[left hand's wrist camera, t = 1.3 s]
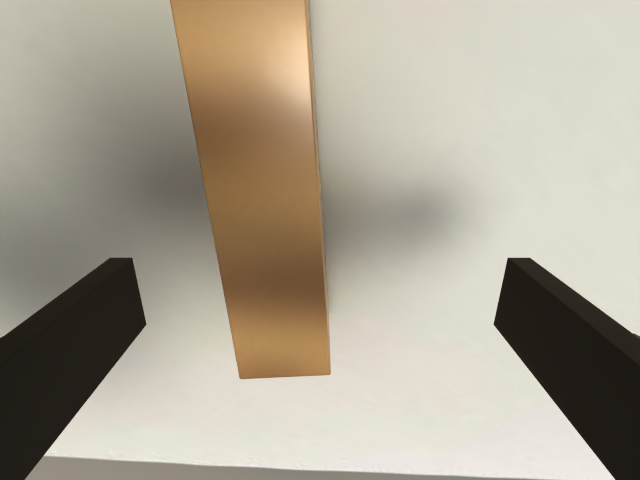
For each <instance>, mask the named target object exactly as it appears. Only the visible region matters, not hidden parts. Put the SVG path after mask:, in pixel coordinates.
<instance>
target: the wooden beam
mask: <svg viewBox="0 0 640 480" xmlns="http://www.w3.org/2000/svg"><path fill="white" fill-rule="evenodd" d="M170 3H171V9H172V14H173V19H174V25H175V30H176V36H177V41H178V46H179V52H180V57H181V63H182V68H183V74H184V79H185V84H186V90H187V95H188V101H189V106H190V112H191V117H192V122H193V128H194V133H195V139H196V144H197V149H198V155H199V160H200V166H201V171H202V177H203V182H204V187H205V193H206V198H207V204H208V209H209V215H210V220H211V225H212V231H213V236H214V242H215V247H216V253H217V258H218V263H219V269H220V274H221V280H222V285H223V290H224V296H225V301H226V307H227V312H228V318H229V323H230V328H231V334H232V339H233V345H234V350H235V356H236V361H237V366H238V372H239V377H240V379H252V378H273V377H294V376H316V375H330V374H331V368H330V337H329V308H328V292H327V276H326V260H325V245H324V229H323V213H322V197H321V181H320V166H319V150H318V134H317V118H316V103H315V87H314V71H313V55H312V39H311V24H310V8H309V0H170Z"/></svg>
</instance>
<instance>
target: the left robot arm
mask: <svg viewBox="0 0 640 480" xmlns="http://www.w3.org/2000/svg"><path fill="white" fill-rule="evenodd" d="M145 326H146V321H145V316H144V311H143V307H142V302H141V297H140V293H139V288H138V283H137V278H136V274H135V269H134V264H133V260H132V258H109V259H108V260H107V261H105V262H104V263H103V264H101V265H100V266H98V267H97V268H96V269H94V270H93V271H92V272H90V273H89V274H88V275H86V276H85V277H84V278H82V279H81V280H79V281H78V282H77V283H75V284H74V285H73V286H71V287H70V288H69V289H67V290H66V291H65V292H63V293H62V294H61V295H59V296H58V297H56V298H55V299H54V300H52V301H51V302H50V303H48V304H47V305H46V306H44V307H43V308H42V309H40V310H39V311H37V312H36V313H35V314H33V315H32V316H31V317H29V318H28V319H27V320H25V321H24V322H23V323H21V324H20V325H18V326H17V327H16V328H14V329H13V330H12V331H10V332H9V333H8V334H6V335H5V336H3V337H1V338H0V480H25V478H26V477H27V476H28V475H29V473H30V472H31V471H32V470H33V468H34V467H35V466H36V464H37V463H38V462H39V461H40V459H41V458H42V457H43V456H44V454H45V453H46V452H47V450H48V449H49V448H50V447H51V445H52V444H53V443H54V442H55V440H56V439H57V438H58V436H59V435H60V434H61V433H62V431H63V430H64V429H65V427H66V426H67V425H68V424H69V422H70V421H71V420H72V419H73V417H74V416H75V415H76V413H77V412H78V411H79V410H80V408H81V407H82V406H83V405H84V403H85V402H86V401H87V399H88V398H89V397H90V396H91V394H92V393H93V392H94V391H95V389H96V388H97V387H98V385H99V384H100V383H101V382H102V380H103V379H104V378H105V377H106V375H107V374H108V373H109V371H110V370H111V369H112V368H113V366H114V365H115V364H116V362H117V361H118V360H119V359H120V357H121V356H122V355H123V354H124V352H125V351H126V350H127V348H128V347H129V346H130V345H131V343H132V342H133V341H134V340H135V338H136V337H137V336H138V334H139V333H140V332H141V331H142V329H143V328H144V327H145ZM494 326H495V327H496V328H497V329H498V331H499V332H500V333H501V334H502V336H503V337H504V338H505V340H506V341H507V342H508V343H509V345H510V346H511V347H512V348H513V350H514V351H515V352H516V354H517V355H518V356H519V357H520V359H521V360H522V361H523V363H524V364H525V365H526V366H527V368H528V369H529V370H530V371H531V373H532V374H533V375H534V377H535V378H536V379H537V380H538V382H539V383H540V384H541V385H542V387H543V388H544V389H545V391H546V392H547V393H548V394H549V396H550V397H551V398H552V399H553V401H554V402H555V403H556V405H557V406H558V407H559V408H560V410H561V411H562V412H563V413H564V415H565V416H566V417H567V419H568V420H569V421H570V422H571V424H572V425H573V426H574V427H575V429H576V430H577V431H578V433H579V434H580V435H581V436H582V438H583V439H584V440H585V442H586V443H587V444H588V445H589V447H590V448H591V449H592V450H593V452H594V453H595V454H596V456H597V457H598V458H599V459H600V461H601V462H602V463H603V464H604V466H605V467H606V468H607V470H608V471H609V472H610V473H611V475H612V476H613V477H614V478H615V480H640V336H638V335H636V334H632V333H631V332H630V331H628V330H627V329H626V328H624V327H623V326H622V325H620V324H619V323H617V322H616V321H615V320H613V319H612V318H611V317H609V316H608V315H607V314H605V313H604V312H603V311H601V310H600V309H598V308H597V307H596V306H594V305H593V304H592V303H590V302H589V301H588V300H586V299H585V298H584V297H582V296H581V295H579V294H578V293H577V292H575V291H574V290H573V289H571V288H570V287H569V286H567V285H566V284H565V283H563V282H562V281H560V280H559V279H558V278H556V277H555V276H554V275H552V274H551V273H550V272H548V271H547V270H546V269H544V268H543V267H542V266H540V265H539V264H537V263H536V262H535V261H533V260H532V259H531V258H508V260H507V264H506V269H505V274H504V278H503V283H502V288H501V293H500V297H499V302H498V307H497V311H496V316H495V321H494Z"/></svg>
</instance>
